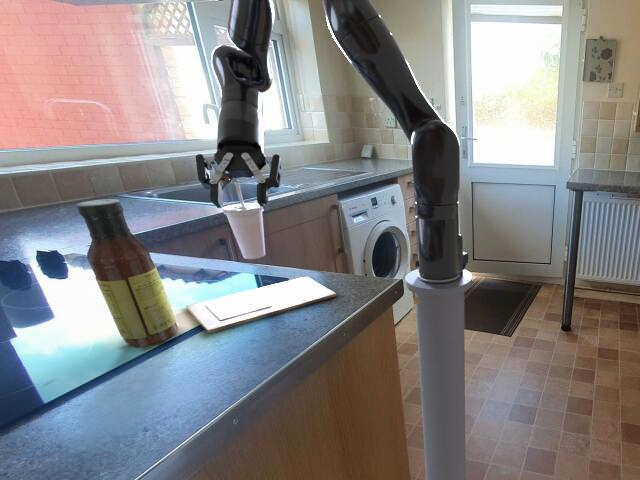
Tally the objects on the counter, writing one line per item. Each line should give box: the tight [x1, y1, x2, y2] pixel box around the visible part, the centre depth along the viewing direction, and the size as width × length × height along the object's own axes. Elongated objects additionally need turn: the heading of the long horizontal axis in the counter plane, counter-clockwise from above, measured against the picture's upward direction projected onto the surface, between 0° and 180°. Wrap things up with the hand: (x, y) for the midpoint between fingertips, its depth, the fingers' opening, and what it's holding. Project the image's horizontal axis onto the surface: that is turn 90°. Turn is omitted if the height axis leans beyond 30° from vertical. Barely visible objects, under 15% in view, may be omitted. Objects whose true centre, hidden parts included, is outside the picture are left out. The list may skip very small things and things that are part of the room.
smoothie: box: [222, 181, 266, 260], centre depth 76 cm, size 6×6×14 cm
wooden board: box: [185, 276, 338, 334], centre depth 71 cm, size 20×12×1 cm, turn 139°
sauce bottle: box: [76, 198, 179, 348], centre depth 55 cm, size 7×6×20 cm
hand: (239, 204), depth 74 cm, fingers closed on smoothie, 6 cm apart
